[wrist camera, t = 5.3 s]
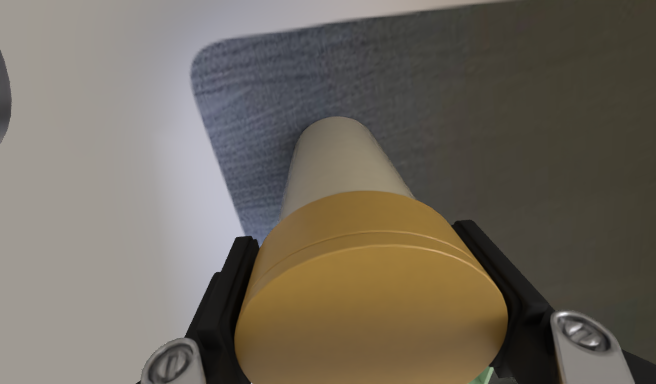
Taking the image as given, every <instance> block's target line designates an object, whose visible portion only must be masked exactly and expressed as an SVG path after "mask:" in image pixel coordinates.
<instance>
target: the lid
mask: <svg viewBox="0 0 656 384" xmlns="http://www.w3.org/2000/svg"><path fill="white" fill-rule="evenodd" d="M507 326H508V315H507V307H506V304H505V301H504V299H503V296H502V294H501V292H500V291H499V289H498V287H497V286H496V284H495V283H494V282H493V280H492V279H491V278H490V276H489V275H488V274H487V272H486V271H485V270H484V269H483V267H482V266H481V265H480V263H479V262H478V261H477V259H476V258H475V257H474V256H473V254H472V253H471V252H470V250H469V249H468V248H467V246H466V245H465V244H464V242H463V241H462V240H461V239H460V237H459V236H458V235H457V233H456V232H455V231H454V229H453V228H452V227H451V226H450V224H449V223H448V222H447V221H446V220H445V219H444V218H443V217H442V216H441V215H440V214H439V213H437V212H436V211H435V210H433V209H432V208H431V207H429V206H427V205H425V204H423V203H421V202H420V201H417V200H415V199H412V198H409V197H407V196H404V195H399V194H395V193H391V192H383V191H351V192H344V193H338V194H334V195H330V196H326V197H323V198H321V199H318V200H315V201H313V202H310V203H308V204H306V205H305V206H303V207H301V208H299V209H297V210H295V211H294V212H293V213H291V214H290V215H288V216H287V217H285V218H284V219H283V220H282V221H281V222H280V223H279V224H278V225H277V226H275V227H274V228H273V230H272V231H271V232H270V233H269V235H268V236H267V237H266V238H265V240H264V242H263V244H262V245H261V247H260V249H259V252H258V254H257V257H256V260H255V263H254V267H253V270H252V273H251V277H250V280H249V284H248V287H247V290H246V294H245V297H244V301H243V304H242V307H241V311H240V314H239V318H238V321H237V324H236V329H235V335H234V347H235V354H236V357H237V361H238V363H239V365H240V367H241V369H242V371H243V373H244V374H245V375H246V377H247V378H248V380H249V381H250V382H251V383H252V384H468V383H470V382H471V381H472V380H474V379H475V378H476V377H477V376H478V375H479V374H481V373H482V372H483V371H484V370H485V369H486V368H487V367H488V365H489V364H490V363H491V362H492V361H493V359H494V358H495V356H496V355H497V354H498V352H499V350H500V348H501V346H502V344H503V342H504V339H505V335H506V332H507Z"/></svg>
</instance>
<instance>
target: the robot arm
mask: <svg viewBox="0 0 656 384" xmlns="http://www.w3.org/2000/svg"><path fill="white" fill-rule="evenodd" d="M451 227H452V228H453V229H454V231H455V232H456V233H457V235H458V236H459V237H460V239H461V240H462V241H463V242H464V244H465V245H466V246H467V248H468V249H469V250H470V252H471V253H472V254H473V256H474V257H475V258H476V259H477V261H478V262H479V263H480V265H481V266H482V267H483V269H484V270H485V271H486V272H487V274H488V275H489V276H490V278H491V279H492V280H493V282H494V283H495V284H496V286H497V287H498V289H499V291H500V292H501V294H502V296H503V299H504V301H505V304H506V307H507V315H508V326H507V332H506V335H505V339H504V342H503V344H502V346H501V348H500V350H499V352H498V354H497V355H496V356H495V358H494V359H493V361H492V362H491V363H490V364H489V365H488V366H489V367H493V368H494V370H495V372H496V374H497V376H498V377H499V378H505V377H514V378H515V379H516V381H517V383H518V384H656V365H655V364H653V363H651V362H648V361H646V360H644V359H642V358H640V357H637V356H635V355H633V354H631V353H629V352H626V351H624V350H622V349H621V348H620V346H619V343H618V342H617V340H616V338H615V337H614V335H613V334H612V333H611V332H610V331H609V330H608V329H607V328H606V327H605V326H603V325H602V324H601V323H599V322H598V321H597V320H595V319H593V318H591V317H589V316H587V315H585V314H582V313H579V312H577V311H572V310H558V311H555V310H554V309H553V308H552V307H551V306H550V305H549V303H548V302H547V301H546V300H545V299H544V297H543V296H542V295H541V294H540V293H539V292H538V291H537V290H536V289H535V288H534V287H533V285H532V284H531V283H530V282H529V281H528V280H527V279H526V278H525V277H524V276H523V275H522V274H521V272H520V271H519V270H518V269H517V268H516V267H515V266H514V265H513V264H512V263H511V262H510V260H509V259H508V258H507V257H506V256H505V255H504V254H503V253H502V252H501V251H500V250H499V248H498V247H497V246H496V245H495V244H494V243H493V242H492V241H491V240H490V239H489V238H488V236H487V235H486V234H485V233H484V232H483V231H482V230H481V229H480V228H479V227H478V226H477V225H476V223H475V222H474V221H472V220H462V221H456V222H455V223H454V225H451ZM258 252H259V245H258V241H257V239H253V238H252V236H243V237H236V239H235V241H234V243H233V245H232V248H231V250H230V252H229V255H228V257H227V259H226V261H225V264H224V266H223V268H222V271H221V272H216V273H215V274H214V275H213V277H212V279H211V281H210V283H209V285H208V288H207V290H206V292H205V294H204V296H203V298H202V300H201V303H200V305H199V307H198V309H197V311H196V314H195V316H194V318H193V320H192V322H191V324H190V326H189V328H188V331H187V333H186V335H185V337H184V338H178V339H175V340H172V341H169V342H168V343H166V344H164V345H163V346H161V347H160V348H159V349H158V350H156V351H155V352H154V353H153V354H152V355H151V357H150V358H149V359H148V360H147V362H146V364H145V366H144V368H143V370H142V374H141V380H140V381H139V382H138V383H136V384H251V382H250V381H249V380H248V378H247V377H246V375H245V374H244V373H243V371H242V369H241V367H240V365H239V363H238V361H237V357H236V354H235V347H234V335H235V329H236V324H237V321H238V318H239V314H240V311H241V307H242V304H243V301H244V297H245V294H246V290H247V287H248V284H249V280H250V277H251V273H252V270H253V267H254V263H255V260H256V257H257V254H258Z"/></svg>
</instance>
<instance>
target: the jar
mask: <svg viewBox="0 0 656 384" xmlns="http://www.w3.org/2000/svg"><path fill="white" fill-rule="evenodd" d="M351 191H383V192H391V193H395V194H399V195H404V196H407V197H409V198H412V199H415V200H416V198H415V197H414V195H413V194H412V192H411V191H410V189H409V188H408V186H407V185H406V183H405V182H404V180H403V179H402V177H401V176H400V174H399V173H398V171H397V170H396V168H395V167H394V165H393V164H392V162H391V161H390V160H389V158H388V157H387V155H386V154H385V152H384V151H383V149H382V148H381V146H380V145H379V143H378V142H377V140H376V139H375V137H374V136H373V134H372V133H371V132H370V131H369V129H368V128H367V127H365V126H364V125H363V124H361V123H360V122H358V121H356V120H353V119H351V118H347V117H328V118H324V119H321V120H319V121H316V122H315V123H313V124H311V125H310V126H309V127H308V128H306V129H305V130H304V132H303V133H302V134H301V135H300V137H299V138H298V140H297V142H296V145H295V147H294V152H293V156H292V161H291V165H290V169H289V174H288V178H287V182H286V187H285V191H284V196H283V200H282V204H281V209H280V213H279V217H278V222H277V225H278V224H279V223H280V222H281V221H282V220H283V219H284V218H285V217H287V216H288V215H290V214H291V213H293V212H294V211H295V210H297V209H299V208H301V207H303V206H305V205H306V204H308V203H310V202H313V201H315V200H318V199H321V198H323V197H326V196H330V195H334V194H338V193H344V192H351Z"/></svg>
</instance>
